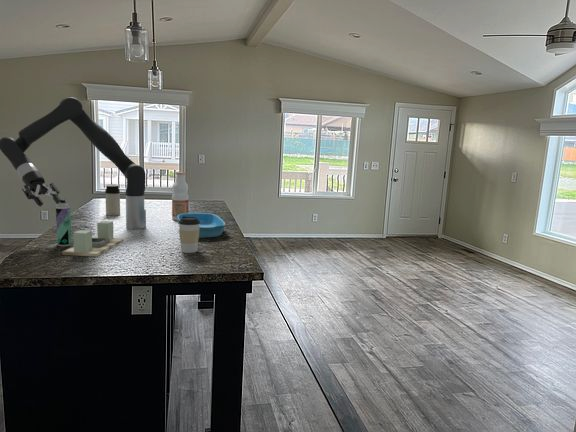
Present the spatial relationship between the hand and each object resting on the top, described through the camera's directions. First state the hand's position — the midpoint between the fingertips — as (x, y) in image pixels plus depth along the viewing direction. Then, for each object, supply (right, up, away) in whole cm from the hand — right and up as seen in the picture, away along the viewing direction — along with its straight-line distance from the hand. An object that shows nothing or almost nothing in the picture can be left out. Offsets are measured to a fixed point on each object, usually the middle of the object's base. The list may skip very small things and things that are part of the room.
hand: (50, 203), depth 185 cm
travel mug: (-2, -5, +71) cm, 72 cm away
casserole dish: (+57, -14, +39) cm, 71 cm away
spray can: (+6, -18, 0) cm, 19 cm away
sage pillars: (+20, -18, -1) cm, 27 cm away
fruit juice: (+39, -8, +67) cm, 78 cm away
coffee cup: (+60, -21, +1) cm, 64 cm away
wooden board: (+20, -19, -1) cm, 28 cm away
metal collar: (+20, -18, -1) cm, 27 cm away
